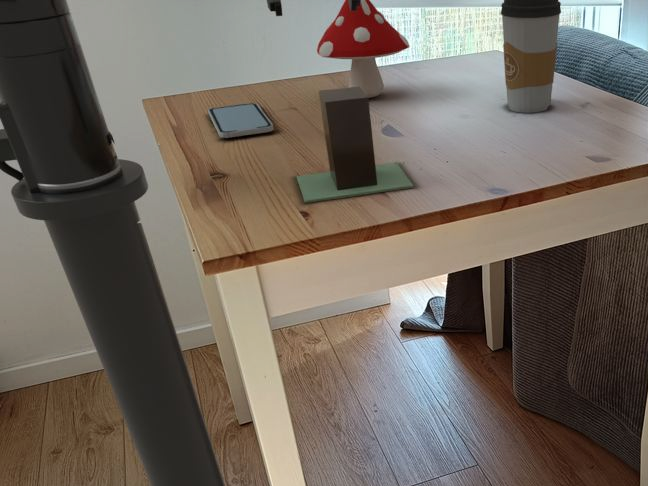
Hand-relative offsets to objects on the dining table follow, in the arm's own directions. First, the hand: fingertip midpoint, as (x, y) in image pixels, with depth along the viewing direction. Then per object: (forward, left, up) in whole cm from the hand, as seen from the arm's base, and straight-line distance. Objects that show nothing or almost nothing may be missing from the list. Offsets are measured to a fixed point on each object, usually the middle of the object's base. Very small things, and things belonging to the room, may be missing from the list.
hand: (317, 8), depth 78 cm
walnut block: (0, -12, -16) cm, 20 cm away
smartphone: (-11, +18, -17) cm, 27 cm away
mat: (0, -12, -17) cm, 20 cm away
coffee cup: (+30, +9, -17) cm, 36 cm away
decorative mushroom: (+9, +25, -17) cm, 32 cm away
